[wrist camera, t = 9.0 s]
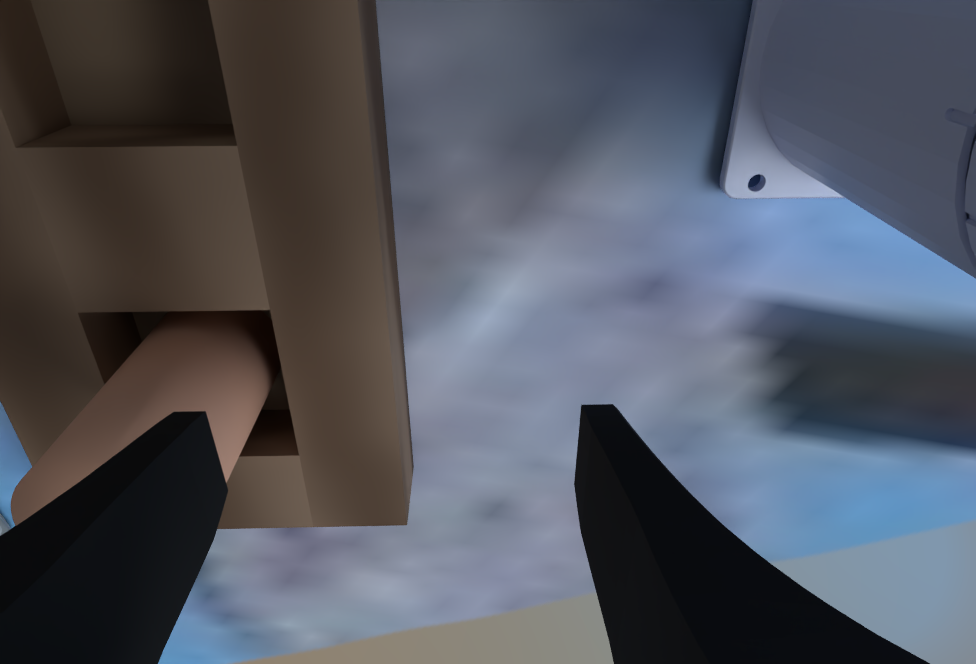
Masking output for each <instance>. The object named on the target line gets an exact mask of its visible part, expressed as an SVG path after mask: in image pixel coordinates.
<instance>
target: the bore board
mask: <svg viewBox="0 0 976 664" xmlns="http://www.w3.org/2000/svg"><path fill="white" fill-rule="evenodd" d="M232 310H262V311H263V312H264V313H265V314H266V315H267V316H268V317H269V318H270V319H271V320H272V323H273V328H274V333H275V338H276V343H277V348H278V353H279V358H280V363H281V369H280V371H279V373H278V375H277V377H276V379H275V381H274V383H273V386H272V388H271V390H270V392H269V394H268V396H267V398H266V400H265V403H264V405H263V407H262V409H261V411H260V413H259V415H258V417H257V419H256V422H255V424H254V426H253V428H252V430H251V432H250V434H249V436H248V439H247V441H246V443H245V445H244V447H243V449H242V451H241V453H240V455H239V458H238V460H237V462H236V464H235V466H234V468H233V470H232V472H231V475H230V477H229V479H228V481H227V483H226V484H227V487H228V494H227V497H226V501H225V504H224V508H223V511H222V515H221V518H220V521H219V524H218V528H217V529H240V528H289V527H339V526H388V525H407V520H408V512H409V503H410V494H411V485H412V476H413V467H414V466H413V454H412V442H411V429H410V417H409V405H408V393H407V380H406V368H405V356H404V344H403V331H402V319H401V307H400V295H399V282H398V270H397V258H396V246H395V233H394V221H393V209H392V197H391V184H390V172H389V160H388V148H387V135H386V123H385V111H384V99H383V86H382V74H381V62H380V50H379V37H378V25H377V13H376V1H375V0H0V401H1V403H2V405H3V407H4V409H5V411H6V413H7V415H8V417H9V419H10V421H11V423H12V425H13V428H14V430H15V432H16V434H17V436H18V438H19V440H20V442H21V444H22V446H23V448H24V450H25V452H26V454H27V456H28V458H29V461H30V463H31V465H32V467H33V466H34V465H35V463H36V462H37V461H38V460H39V459H40V458H41V457H42V455H43V454H44V453H45V452H46V451H47V450H48V449H49V448H50V446H51V445H52V444H53V443H54V442H55V441H56V440H57V438H58V437H59V436H60V435H61V434H62V433H63V432H64V430H65V429H66V428H67V427H68V426H69V425H70V424H71V422H72V421H73V420H74V419H75V418H76V417H77V416H78V414H79V413H80V412H81V411H82V410H83V409H84V408H85V406H86V405H87V404H88V403H89V402H90V401H91V400H92V398H93V397H94V396H95V395H96V394H97V393H98V392H99V390H100V389H101V388H102V387H103V386H104V385H105V384H106V382H107V381H108V380H109V379H110V378H111V377H112V376H113V374H114V373H115V372H116V371H117V370H118V369H119V368H120V366H121V365H122V364H123V363H124V362H125V361H126V360H127V358H128V357H129V356H130V355H131V354H132V353H133V352H134V350H135V349H136V348H137V347H138V346H139V345H140V344H141V343H142V341H143V340H144V339H145V338H146V337H147V336H148V335H149V333H150V332H151V331H152V330H153V329H154V328H155V327H156V325H157V324H158V323H159V322H160V321H161V320H162V319H163V317H164V316H165V315H166V314H167V313H168V312H169V311H232Z"/></svg>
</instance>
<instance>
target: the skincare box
mask: <svg viewBox="0 0 976 664" xmlns="http://www.w3.org/2000/svg"><path fill="white" fill-rule="evenodd" d="M10 529H11V528H10V526H9V525H8V523H7V522H6V521H5V519H4V518H3V516H2V515H1V514H0V536H1V535H2V534H4V533H5V532H7V531H9V530H10Z"/></svg>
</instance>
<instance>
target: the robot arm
mask: <svg viewBox="0 0 976 664" xmlns="http://www.w3.org/2000/svg"><path fill="white" fill-rule="evenodd" d="M757 174H760V181H759V183H758V184H757V185H756V186H755V187H751V188H749V187H748V182H749V180H750V178H751V177H753V176H754V175H757ZM720 188H721V190H722V191H723V192H724V193H725V194H726V195H727V196H729V197H730V198H734V199H779V198H847V199H848V200H850V201H851V202H853V203H855V204H856V205H858V206H860V207H861V208H863V209H864V210H866V211H868V212H869V213H871V214H872V215H874V216H876V217H877V218H879V219H881V220H882V221H884V222H885V223H887V224H889V225H890V226H892V227H893V228H895V229H897V230H898V231H900V232H902V233H903V234H905V235H906V236H908V237H910V238H911V239H913V240H914V241H916V242H918V243H919V244H921V245H923V246H924V247H926V248H927V249H929V250H931V251H932V252H934V253H935V254H937V255H939V256H940V257H942V258H944V259H945V260H947V261H948V262H950V263H952V264H953V265H955V266H956V267H958V268H960V269H961V270H963V271H965V272H966V273H968V274H969V275H971V276H973V277H974V278H976V0H753V3H752V8H751V14H750V19H749V24H748V30H747V35H746V41H745V46H744V51H743V57H742V62H741V68H740V73H739V78H738V84H737V89H736V94H735V100H734V105H733V111H732V116H731V121H730V127H729V132H728V138H727V143H726V148H725V154H724V159H723V165H722V170H721V175H720ZM574 485H575V493H576V501H577V508H578V515H579V522H580V529H581V534H582V538H583V542H584V546H585V550H586V554H587V558H588V562H589V566H590V570H591V573H592V577H593V581H594V585H595V589H596V592H597V596H598V600H599V604H600V607H601V611H602V615H603V619H604V623H605V626H606V631H607V634H608V638H609V642H610V647H611V652H612V656H613V661H614V664H930V663H928V662H926V661H924V660H922V659H920V658H919V657H917V656H915V655H913V654H911V653H910V652H908V651H906V650H904V649H902V648H901V647H899V646H897V645H895V644H893V643H891V642H890V641H888V640H886V639H884V638H882V637H881V636H878V635H877V634H875V633H874V632H872V631H870V630H868V629H867V628H865V627H864V626H862V625H861V624H859V623H857V622H856V621H854V620H852V619H851V618H849V617H848V616H846V615H845V614H843V613H841V612H840V611H838V610H836V609H835V608H833V607H832V606H830V605H828V604H827V603H825V602H824V601H823V600H821V599H820V598H818V597H817V596H815V595H814V594H812V593H811V592H809V591H808V590H806V589H805V588H803V587H802V586H800V585H799V584H798V583H796V582H795V581H793V580H792V579H791V578H790V577H788V576H787V575H785V574H784V573H783V572H781V571H780V570H778V569H777V568H776V567H774V566H773V565H771V564H770V563H769V562H768V561H766V560H765V559H764V558H762V557H761V556H760V555H759V554H757V553H756V552H755V551H754V550H752V549H751V548H750V547H749V546H747V545H746V544H745V543H744V542H743V541H742V540H740V539H739V538H738V537H737V536H736V535H734V534H733V533H732V532H731V531H730V530H728V529H727V528H726V527H725V526H724V525H723V524H722V523H720V522H719V521H718V520H717V519H716V518H715V517H714V516H713V515H712V514H711V513H710V512H709V511H708V510H707V509H706V508H705V507H704V506H703V505H702V504H701V503H700V502H698V501H697V500H696V499H695V498H694V497H693V496H692V495H691V494H690V493H689V492H688V490H687V489H686V488H685V487H684V486H683V485H682V484H681V483H680V482H679V481H678V480H677V479H676V478H675V477H674V476H673V474H672V473H671V472H670V471H669V470H668V469H667V468H666V467H665V466H664V465H663V463H662V462H661V461H660V460H659V459H658V458H657V457H656V456H655V454H654V453H653V452H652V451H651V450H650V449H649V447H648V446H647V445H646V444H645V443H644V441H643V440H642V439H641V438H640V437H639V435H638V434H637V433H636V432H635V430H634V429H633V428H632V427H631V425H630V424H629V423H628V422H627V420H626V419H625V418H624V417H623V415H622V414H621V413H620V411H619V410H618V409H617V408H616V407H615V406H614V405H613V404H607V405H581V415H580V426H579V437H578V449H577V460H576V471H575V482H574ZM227 494H228V487H227V484H226V480H225V477H224V473H223V470H222V466H221V463H220V459H219V456H218V452H217V449H216V445H215V442H214V438H213V435H212V431H211V428H210V424H209V421H208V417H207V414H206V411H182V412H173V413H171V414H170V415H168V416H167V417H165V418H164V419H162V420H161V421H159V422H158V423H157V424H155V425H154V426H153V427H151V428H150V429H149V430H147V431H146V432H145V433H143V434H142V435H141V436H139V437H138V438H137V439H135V440H134V441H133V442H131V443H130V444H129V445H128V446H126V447H125V448H124V449H122V450H121V451H120V452H118V453H117V454H116V455H114V456H113V457H112V458H110V459H109V460H108V461H106V462H105V463H104V464H102V465H101V466H100V467H98V468H97V469H96V470H94V471H93V472H92V473H90V474H89V475H88V476H86V477H85V478H84V479H82V480H81V481H80V482H78V483H77V484H76V485H74V486H73V487H71V488H70V489H68V490H67V491H66V492H64V493H63V494H61V495H60V496H58V497H57V498H56V499H54V500H53V501H51V502H50V503H48V504H47V505H45V506H44V507H43V508H41V509H40V510H38V511H37V512H35V513H34V514H33V515H31V516H30V517H28V518H27V519H25V520H24V521H22V522H21V523H19V524H18V525H16V526H15V527H13V528H12V529H10V530H9V531H7V532H5V533H4V534H2V535H1V536H0V664H158V662H159V659H160V657H161V655H162V652H163V650H164V647H165V645H166V643H167V641H168V639H169V637H170V634H171V632H172V630H173V628H174V626H175V624H176V621H177V619H178V617H179V615H180V613H181V611H182V608H183V606H184V604H185V602H186V600H187V598H188V595H189V593H190V591H191V589H192V587H193V585H194V582H195V580H196V578H197V576H198V574H199V571H200V569H201V567H202V565H203V562H204V560H205V558H206V556H207V554H208V551H209V549H210V547H211V544H212V542H213V540H214V537H215V534H216V531H217V528H218V524H219V521H220V518H221V515H222V511H223V508H224V504H225V501H226V497H227Z"/></svg>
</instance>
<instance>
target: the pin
mask: <svg viewBox="0 0 976 664" xmlns="http://www.w3.org/2000/svg"><path fill="white" fill-rule="evenodd" d="M280 369H281V363H280V358H279V353H278V348H277V343H276V338H275V333H274V328H273V323H272V320H271V319H270V318H269V317H268V316H267V315H266V314H265V313H264V312H263V311H262V310H232V311H169V312H168V313H167V314H166V315H165V316H164V317H163V319H162V320H161V321H160V322H159V323H158V324H157V325H156V327H155V328H154V329H153V330H152V331H151V332H150V333H149V335H148V336H147V337H146V338H145V339H144V340H143V341H142V343H141V344H140V345H139V346H138V347H137V348H136V349H135V350H134V352H133V353H132V354H131V355H130V356H129V357H128V358H127V360H126V361H125V362H124V363H123V364H122V365H121V366H120V368H119V369H118V370H117V371H116V372H115V373H114V374H113V376H112V377H111V378H110V379H109V380H108V381H107V382H106V384H105V385H104V386H103V387H102V388H101V389H100V390H99V392H98V393H97V394H96V395H95V396H94V397H93V398H92V400H91V401H90V402H89V403H88V404H87V405H86V406H85V408H84V409H83V410H82V411H81V412H80V413H79V414H78V416H77V417H76V418H75V419H74V420H73V421H72V422H71V424H70V425H69V426H68V427H67V428H66V429H65V430H64V432H63V433H62V434H61V435H60V436H59V437H58V438H57V440H56V441H55V442H54V443H53V444H52V445H51V446H50V448H49V449H48V450H47V451H46V452H45V453H44V454H43V455H42V457H41V458H40V459H39V460H38V461H37V462H36V463H35V465H34V466H33V467H32V468H31V469H30V470H29V471H28V473H27V474H26V475H25V476H24V477H23V478H22V479H21V481H20V482H19V483H18V485H17V486H16V488H15V490H14V492H13V495H12V499H11V513H12V517H13V521H14V523H15V525H18V524H19V523H21V522H22V521H24V520H25V519H27V518H28V517H30V516H31V515H33V514H34V513H35V512H37V511H38V510H40V509H41V508H43V507H44V506H45V505H47V504H48V503H50V502H51V501H53V500H54V499H56V498H57V497H58V496H60V495H61V494H63V493H64V492H66V491H67V490H68V489H70V488H71V487H73V486H74V485H76V484H77V483H78V482H80V481H81V480H82V479H84V478H85V477H86V476H88V475H89V474H90V473H92V472H93V471H94V470H96V469H97V468H98V467H100V466H101V465H102V464H104V463H105V462H106V461H108V460H109V459H110V458H112V457H113V456H114V455H116V454H117V453H118V452H120V451H121V450H122V449H124V448H125V447H126V446H128V445H129V444H130V443H131V442H133V441H134V440H135V439H137V438H138V437H139V436H141V435H142V434H143V433H145V432H146V431H147V430H149V429H150V428H151V427H153V426H154V425H155V424H157V423H158V422H159V421H161V420H162V419H164V418H165V417H167V416H168V415H170V414H171V413H173V412H182V411H206V414H207V417H208V421H209V424H210V428H211V431H212V435H213V438H214V442H215V445H216V449H217V452H218V456H219V459H220V463H221V466H222V470H223V473H224V477H225V480H226V483H227V481H228V479H229V477H230V475H231V472H232V470H233V468H234V466H235V464H236V462H237V460H238V458H239V455H240V453H241V451H242V449H243V447H244V445H245V443H246V441H247V439H248V436H249V434H250V432H251V430H252V428H253V426H254V424H255V422H256V419H257V417H258V415H259V413H260V411H261V409H262V407H263V405H264V403H265V400H266V398H267V396H268V394H269V392H270V390H271V388H272V386H273V383H274V381H275V379H276V377H277V375H278V373H279V371H280Z"/></svg>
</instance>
